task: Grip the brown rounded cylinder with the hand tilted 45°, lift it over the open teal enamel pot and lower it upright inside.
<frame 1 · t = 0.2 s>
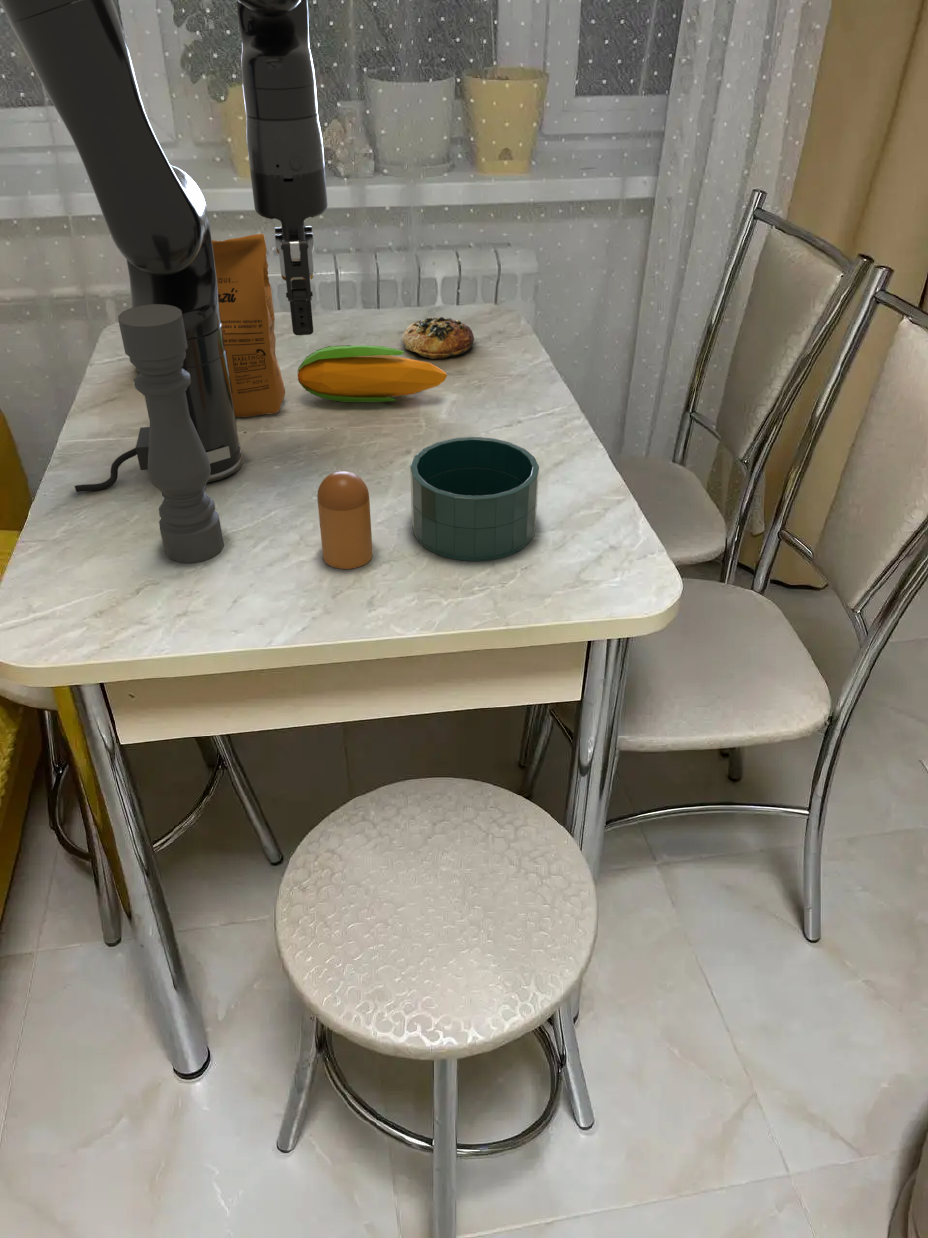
hand: (302, 319, 109), 17 cm above the table, tool pointing down, fingers open, 8 cm apart
pot: (473, 526, 107), on the table
corn: (374, 399, 133), on the table
brown rounded cylinder: (347, 555, 103), on the table
candle holder: (194, 548, 104), on the table
bread roll: (437, 347, 148), on the table
coffee package: (240, 404, 132), on the table
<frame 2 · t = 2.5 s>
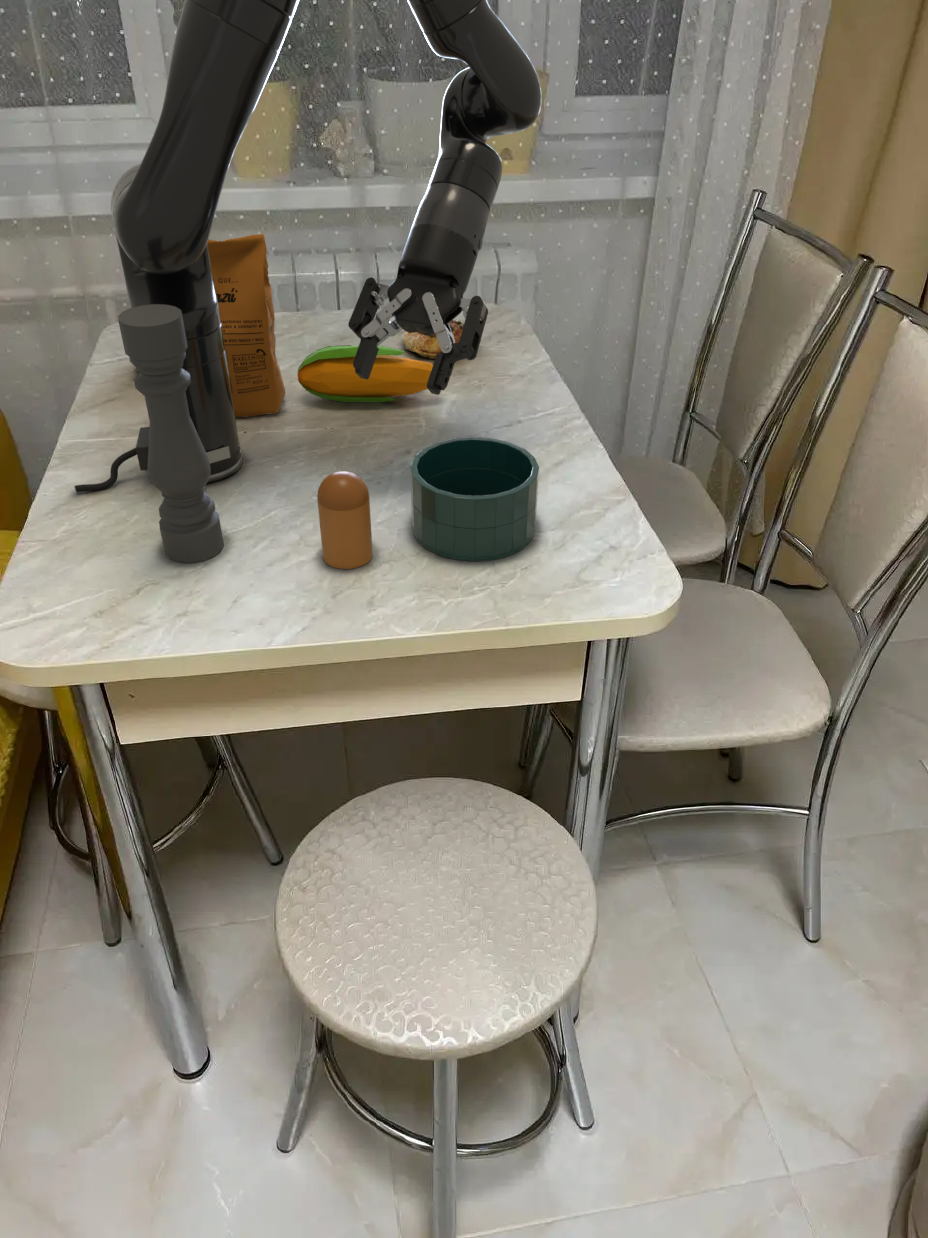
hand: (396, 383, 102), 15 cm above the table, tool tilted 45°, fingers open, 8 cm apart
nothing on the table moved.
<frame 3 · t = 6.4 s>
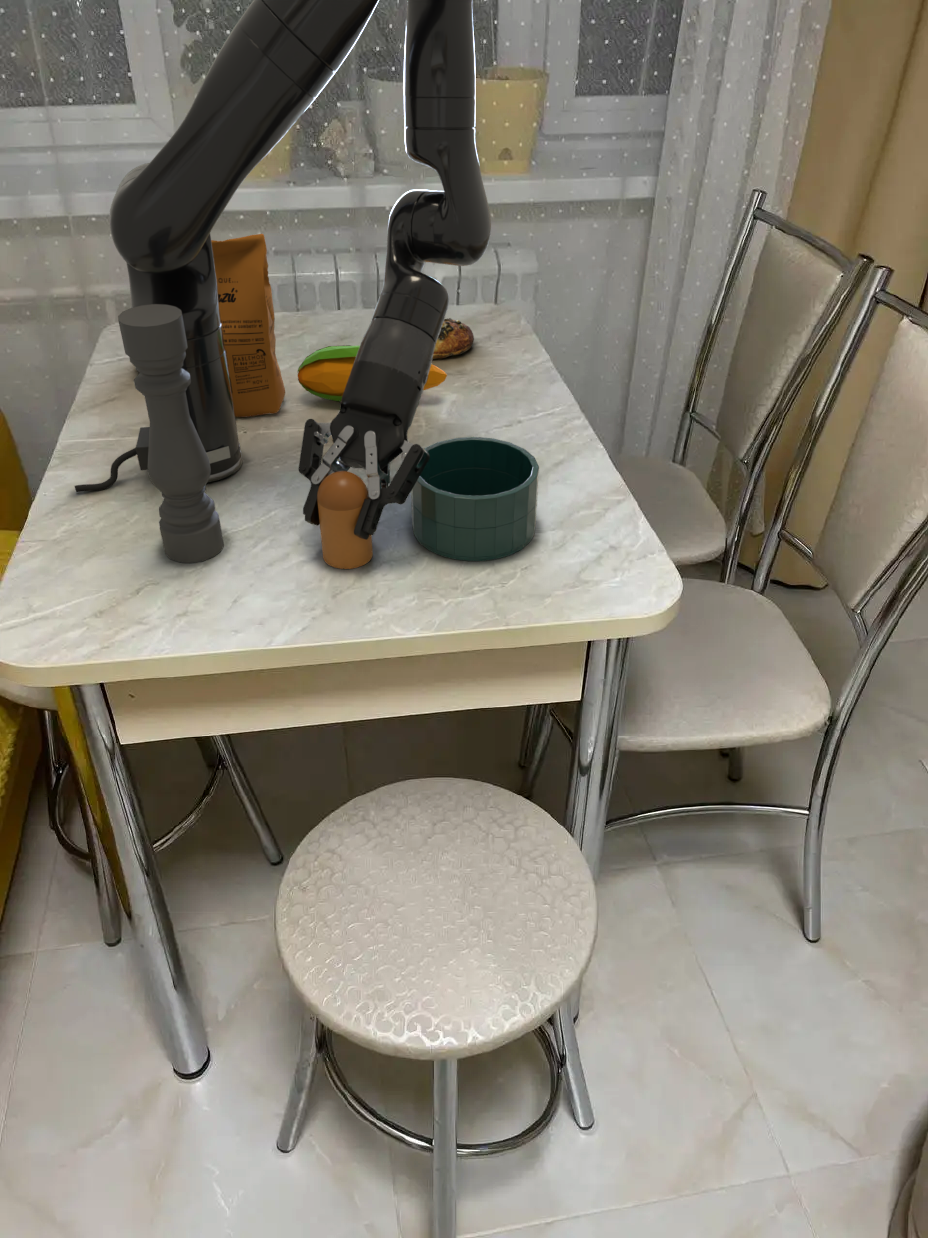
hand: (336, 529, 99), 4 cm above the table, tool tilted 45°, fingers closed on brown rounded cylinder, 5 cm apart
brown rounded cylinder: (347, 555, 103), on the table, touching gripper
everything else where it was.
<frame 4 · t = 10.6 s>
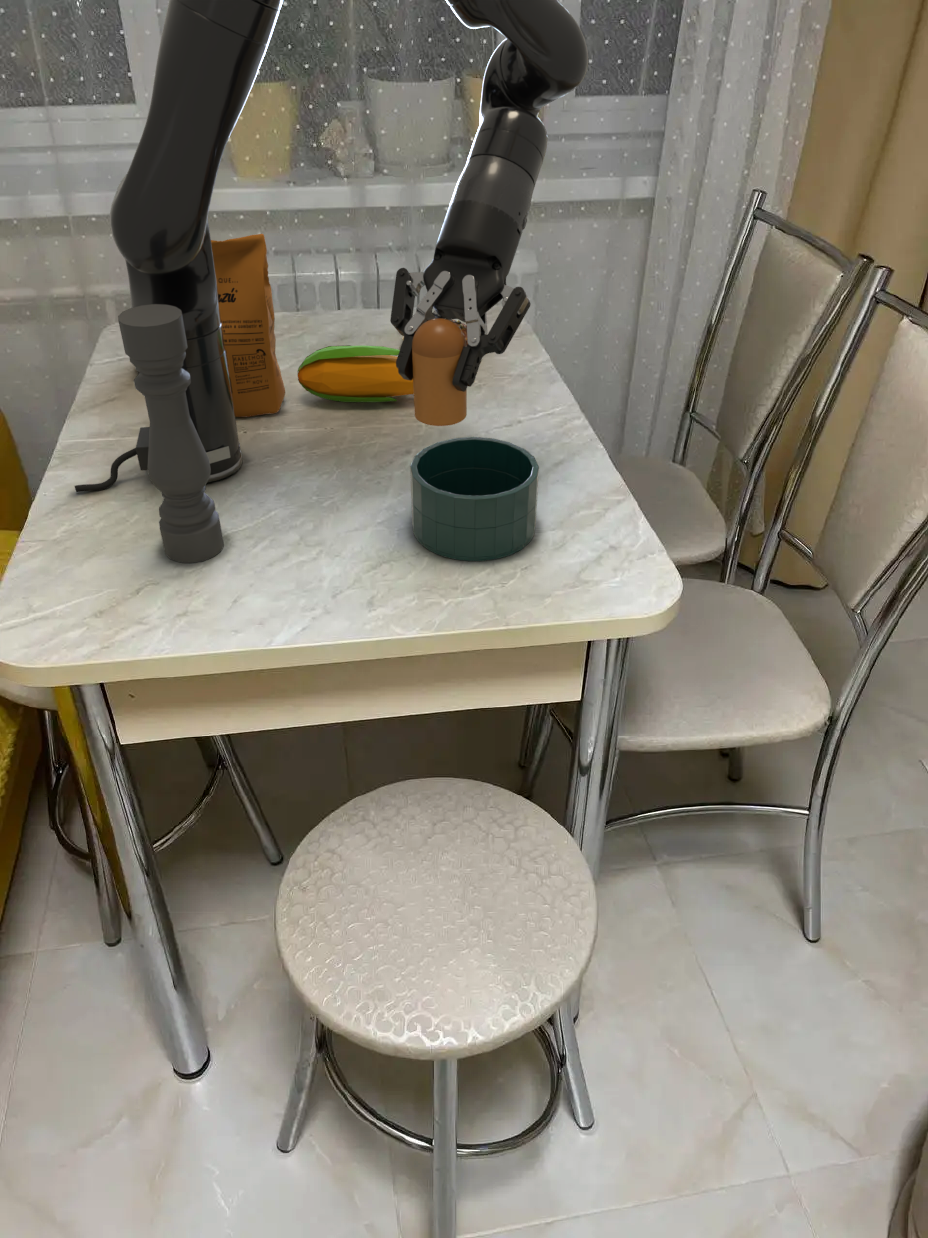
hand: (431, 381, 93), 18 cm above the table, tool tilted 45°, fingers closed on brown rounded cylinder, 5 cm apart
brown rounded cylinder: (440, 414, 97), point 14 cm above the table, touching gripper
everything else where it was.
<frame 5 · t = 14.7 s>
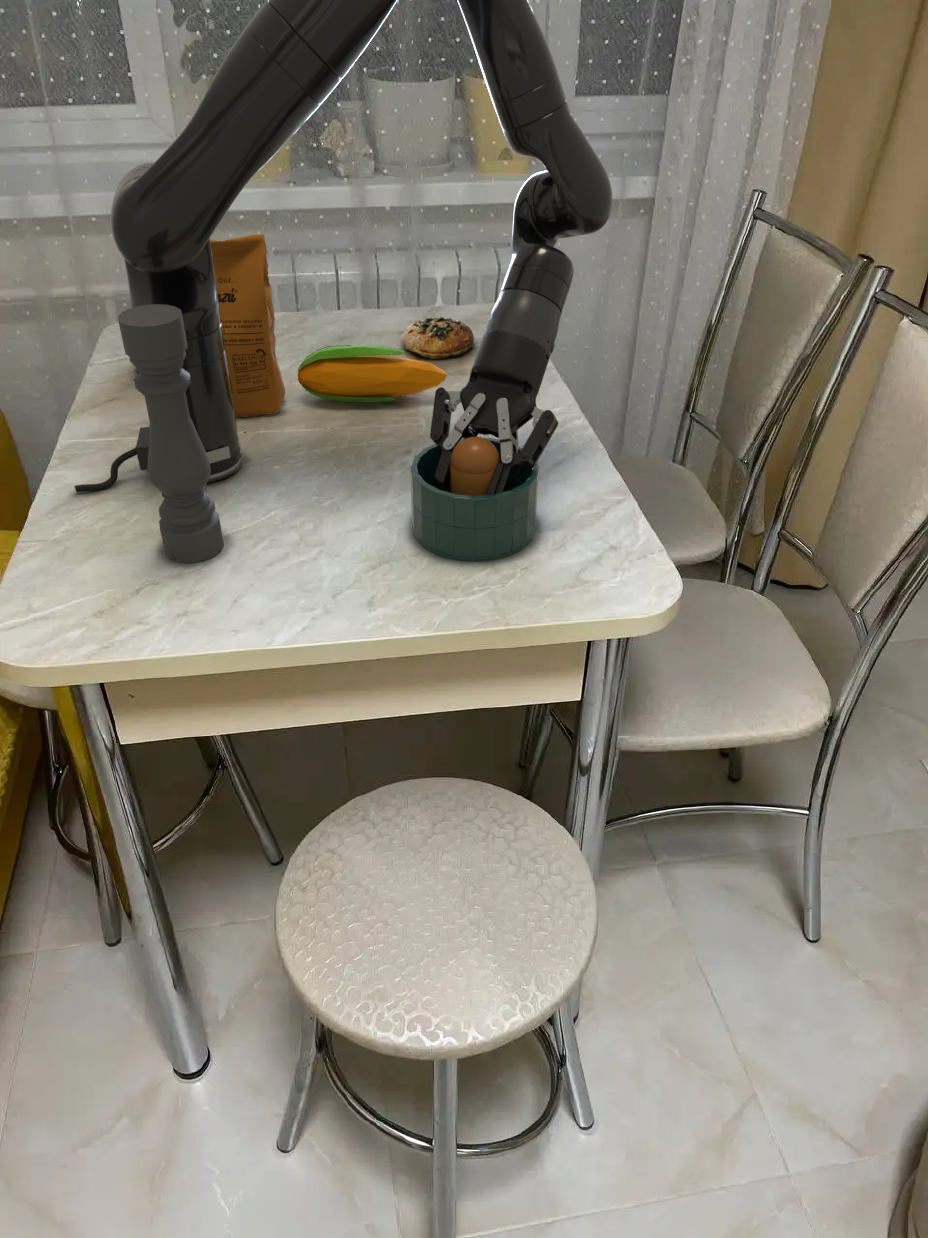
hand: (467, 493, 103), 5 cm above the table, tool tilted 45°, fingers closed on brown rounded cylinder, 5 cm apart
brown rounded cylinder: (474, 519, 107), point 1 cm above the table, touching gripper
everything else where it was.
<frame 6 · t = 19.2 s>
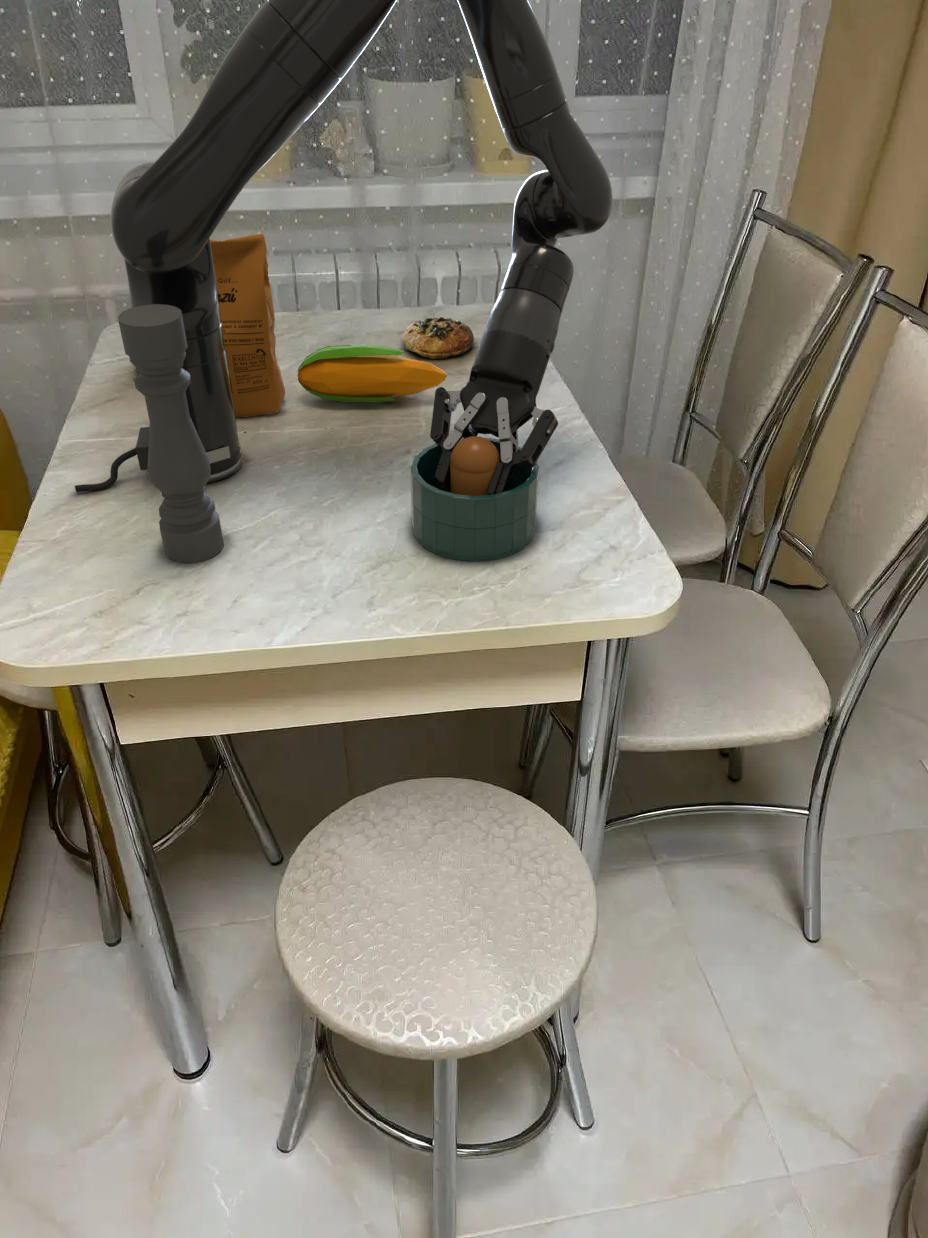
hand: (467, 492, 103), 5 cm above the table, tool tilted 45°, fingers closed on brown rounded cylinder, 5 cm apart
brown rounded cylinder: (474, 518, 107), point 1 cm above the table, touching gripper
everything else where it was.
when the fingers open (6 cm above the table, at t = 23.2 s): brown rounded cylinder drops 2 cm, resting on pot.
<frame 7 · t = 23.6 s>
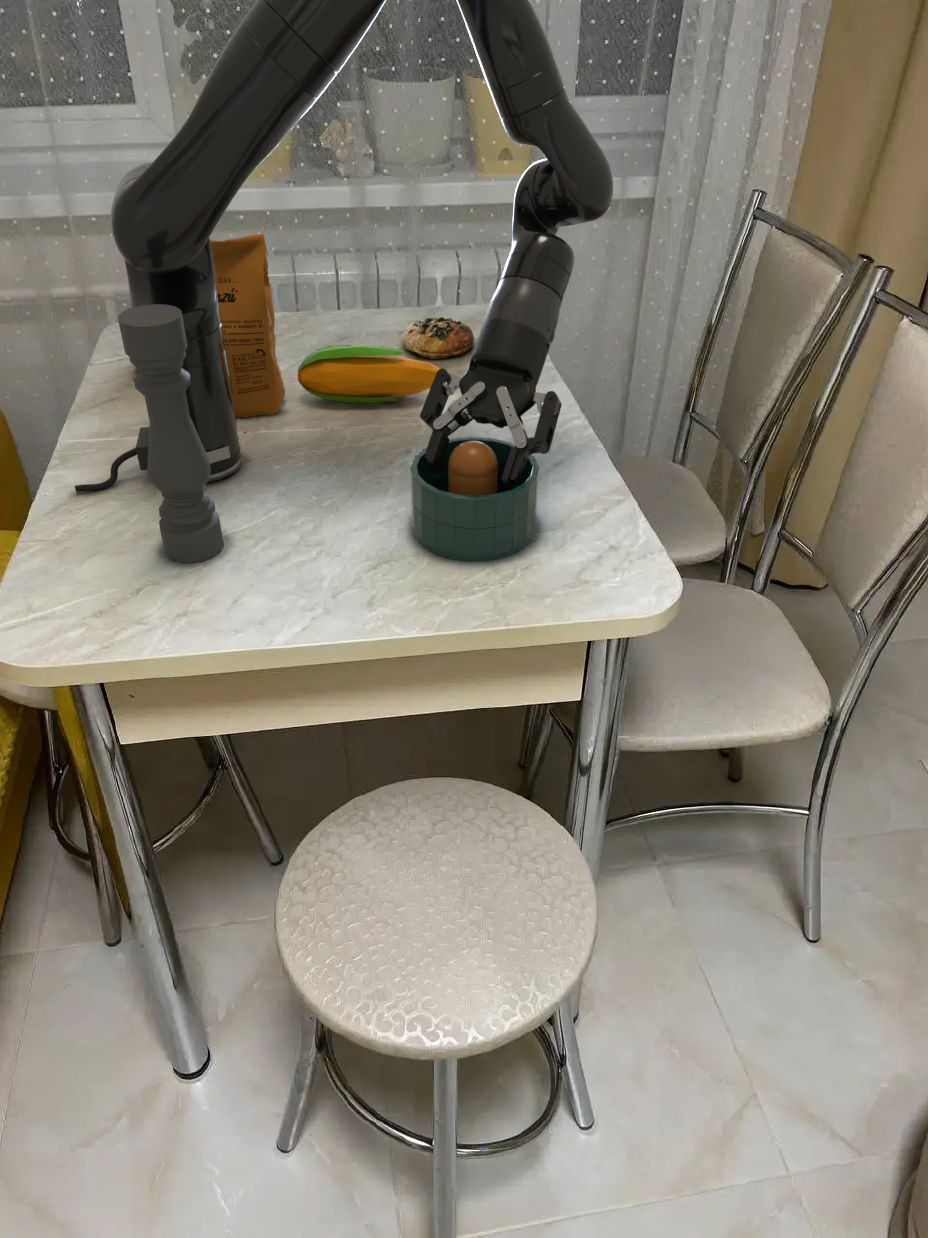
hand: (469, 476, 102), 7 cm above the table, tool tilted 45°, fingers open, 8 cm apart
brown rounded cylinder: (472, 522, 107), point 1 cm above the table, touching pot
everything else where it was.
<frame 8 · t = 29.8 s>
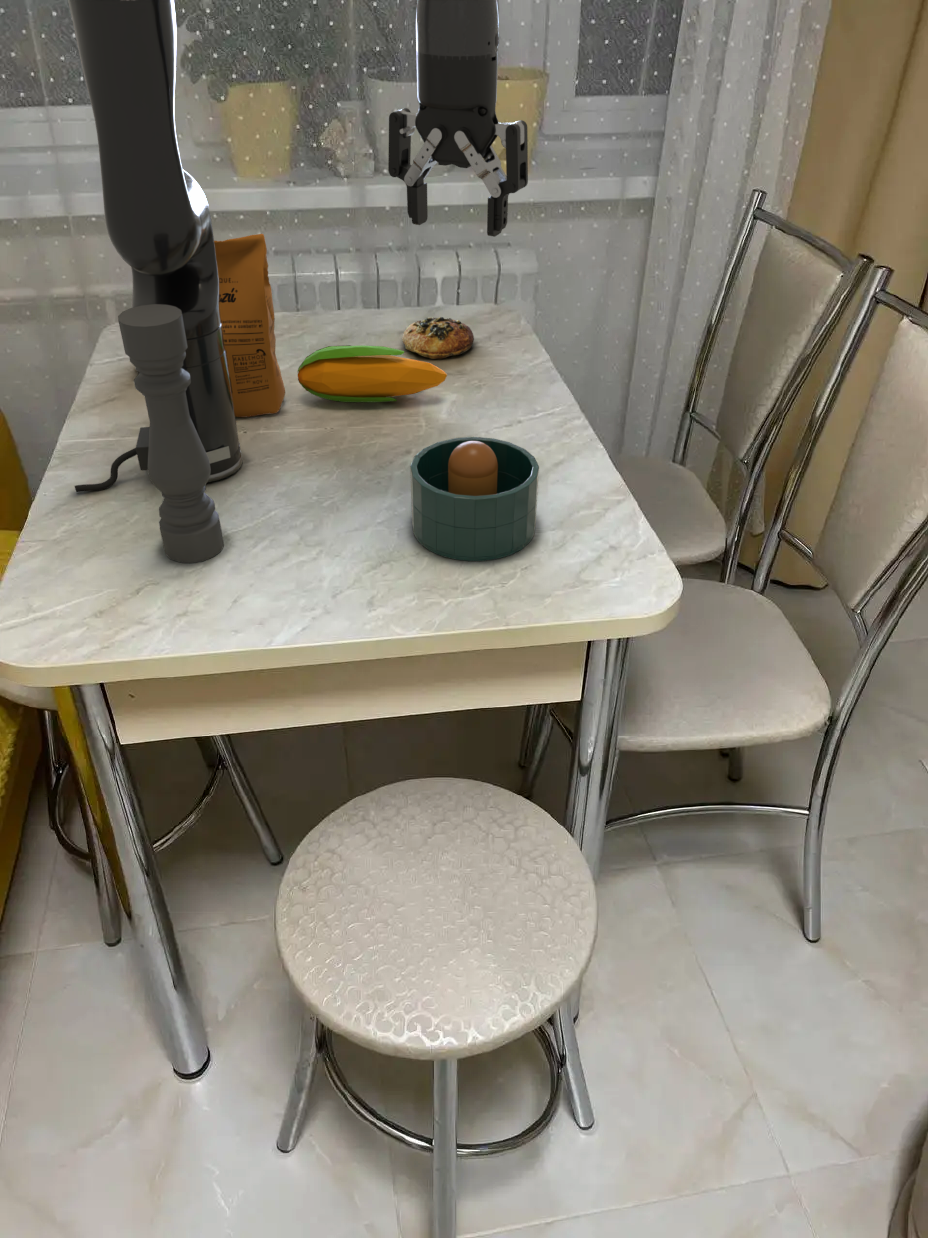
hand: (456, 228, 100), 28 cm above the table, tool pointing down, fingers open, 8 cm apart
nothing on the table moved.
at the end: brown rounded cylinder inside the target area in the pot (0.2 cm from its centre), point 0.5 cm above the pot's base; brown rounded cylinder tilted 0° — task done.
